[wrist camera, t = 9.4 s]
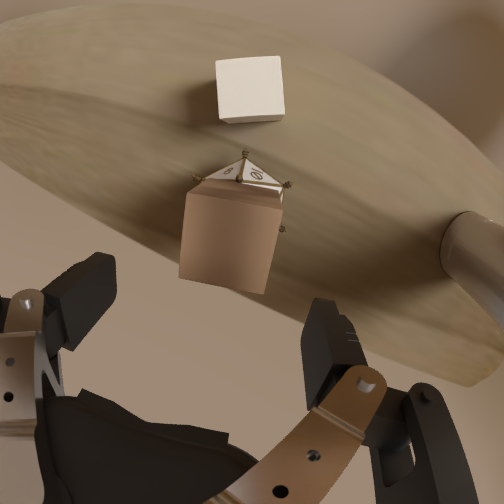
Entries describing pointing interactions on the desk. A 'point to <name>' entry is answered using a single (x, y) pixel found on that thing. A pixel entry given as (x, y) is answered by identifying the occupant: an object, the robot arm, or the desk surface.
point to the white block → (250, 89)
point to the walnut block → (230, 234)
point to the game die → (248, 176)
